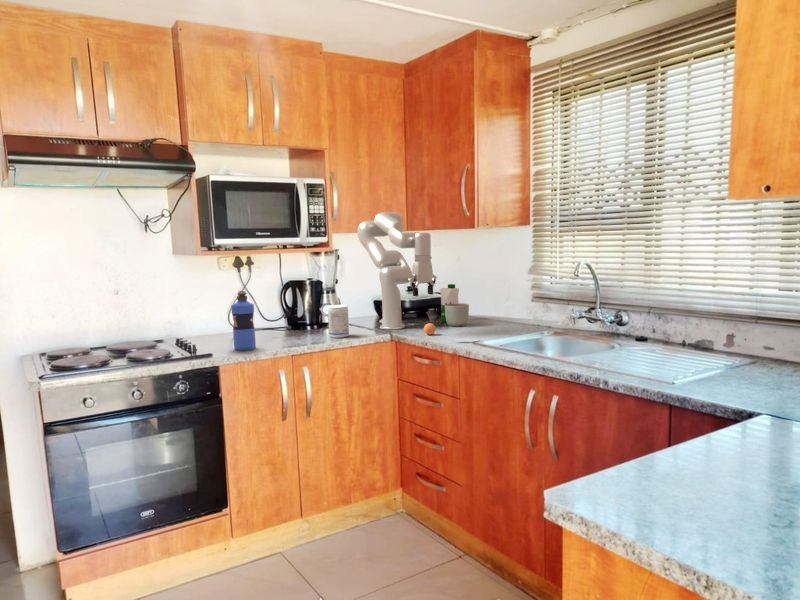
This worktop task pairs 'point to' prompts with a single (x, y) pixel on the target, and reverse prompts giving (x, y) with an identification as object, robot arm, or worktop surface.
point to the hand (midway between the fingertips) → (423, 295)
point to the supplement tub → (338, 321)
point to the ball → (429, 329)
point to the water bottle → (243, 323)
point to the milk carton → (448, 298)
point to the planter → (456, 314)
